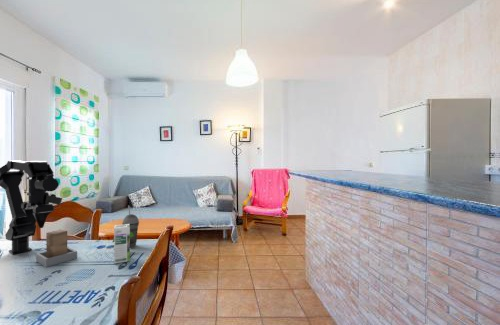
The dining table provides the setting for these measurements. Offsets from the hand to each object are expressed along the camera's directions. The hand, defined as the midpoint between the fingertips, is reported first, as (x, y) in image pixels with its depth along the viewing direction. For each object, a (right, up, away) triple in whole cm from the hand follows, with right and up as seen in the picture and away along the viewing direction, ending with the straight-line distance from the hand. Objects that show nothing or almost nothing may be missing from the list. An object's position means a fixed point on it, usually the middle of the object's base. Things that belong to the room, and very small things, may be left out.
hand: (37, 226), depth 105 cm
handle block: (+11, -13, -3) cm, 17 cm away
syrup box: (+38, -14, -3) cm, 41 cm away
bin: (+11, -13, -3) cm, 17 cm away
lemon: (+34, -13, +5) cm, 37 cm away
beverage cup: (+34, -13, +12) cm, 39 cm away
